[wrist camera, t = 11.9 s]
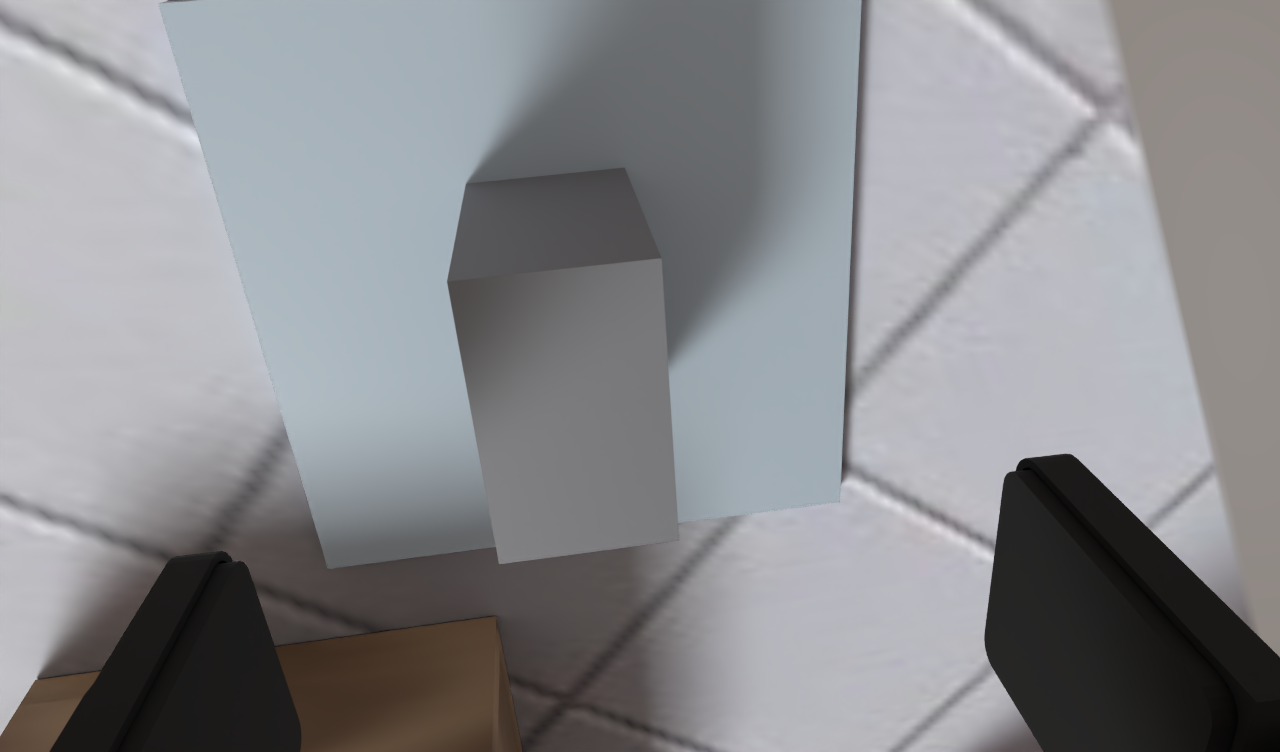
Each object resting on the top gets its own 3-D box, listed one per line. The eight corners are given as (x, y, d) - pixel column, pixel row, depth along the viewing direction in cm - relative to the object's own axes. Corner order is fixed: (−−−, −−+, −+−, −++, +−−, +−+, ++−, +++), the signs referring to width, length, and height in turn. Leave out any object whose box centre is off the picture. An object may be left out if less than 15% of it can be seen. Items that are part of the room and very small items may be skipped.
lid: (845, -58, 17) (998, -43, 11) (827, 478, 22) (923, 656, 17) (178, -2, 16) (5, 43, 10) (336, 541, 21) (275, 750, 16)
